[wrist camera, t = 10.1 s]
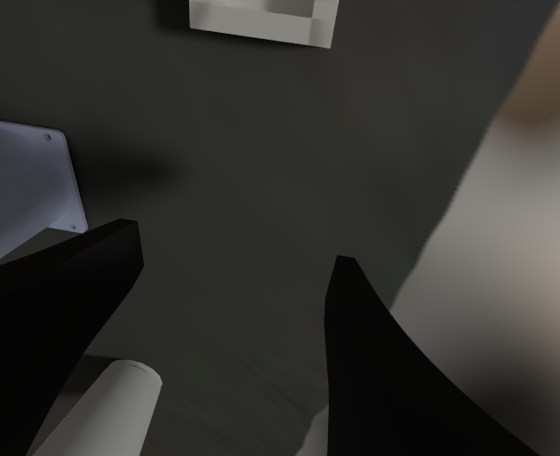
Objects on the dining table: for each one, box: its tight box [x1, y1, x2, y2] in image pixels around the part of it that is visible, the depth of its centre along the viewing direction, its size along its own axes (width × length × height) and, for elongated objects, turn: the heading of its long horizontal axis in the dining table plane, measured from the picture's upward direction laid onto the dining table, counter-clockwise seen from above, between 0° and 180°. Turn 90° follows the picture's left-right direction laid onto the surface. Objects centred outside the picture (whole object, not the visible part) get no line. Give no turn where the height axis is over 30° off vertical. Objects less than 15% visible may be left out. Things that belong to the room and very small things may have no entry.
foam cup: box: [33, 360, 162, 456], centre depth 30 cm, size 10×9×13 cm
